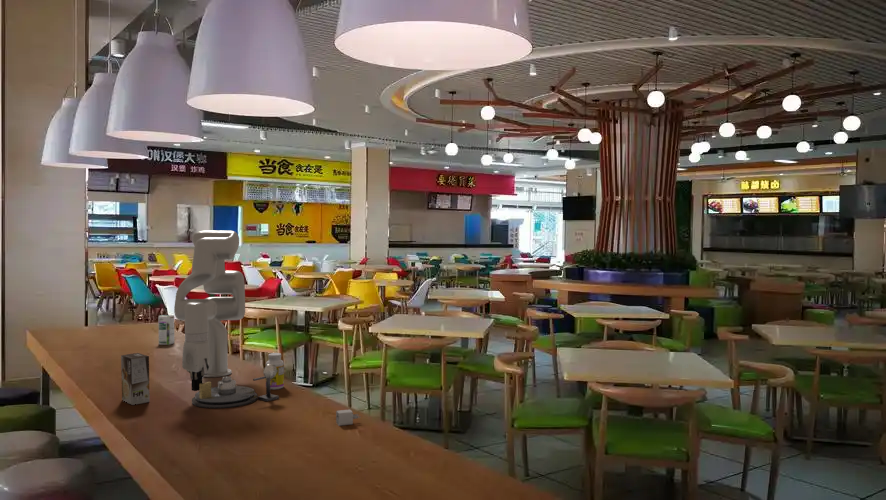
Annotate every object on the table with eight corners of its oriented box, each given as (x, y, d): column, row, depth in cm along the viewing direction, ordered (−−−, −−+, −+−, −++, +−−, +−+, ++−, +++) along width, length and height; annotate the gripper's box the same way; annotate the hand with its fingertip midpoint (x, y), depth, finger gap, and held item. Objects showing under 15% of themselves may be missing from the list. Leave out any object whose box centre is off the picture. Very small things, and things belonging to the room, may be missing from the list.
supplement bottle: (262, 388, 257) (261, 354, 256) (274, 384, 263) (273, 351, 262) (275, 390, 254) (275, 356, 253) (287, 387, 260) (287, 353, 259)
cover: (214, 393, 240) (214, 377, 239) (227, 389, 245) (227, 374, 244) (226, 395, 237) (225, 380, 236) (239, 392, 242) (239, 376, 241)
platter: (183, 397, 239) (182, 379, 238) (231, 386, 255) (231, 369, 254) (217, 407, 227) (217, 388, 226) (266, 394, 243) (266, 377, 242)
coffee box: (150, 402, 238) (150, 356, 237) (131, 405, 233) (131, 358, 232) (139, 397, 244) (138, 352, 243) (120, 400, 239) (120, 354, 238)
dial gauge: (249, 401, 239) (249, 366, 238) (269, 396, 246) (269, 361, 245) (258, 403, 236) (258, 367, 235) (278, 398, 243) (278, 363, 242)
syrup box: (158, 344, 345) (157, 316, 345) (164, 342, 351) (164, 314, 350) (168, 345, 344) (168, 316, 344) (175, 343, 350) (174, 314, 349)
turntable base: (178, 401, 238) (178, 398, 238) (232, 389, 256) (232, 386, 256) (217, 412, 225) (217, 409, 225) (270, 398, 243) (270, 395, 243)
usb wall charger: (336, 422, 214) (336, 410, 214) (357, 420, 217) (357, 408, 217) (339, 426, 211) (339, 413, 211) (361, 424, 213) (361, 411, 213)
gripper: (174, 336, 239) (175, 389, 240) (199, 341, 230) (200, 395, 231) (193, 334, 245) (194, 384, 246) (218, 338, 236) (219, 391, 237)
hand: (197, 390), depth 239 cm, fingers closed
